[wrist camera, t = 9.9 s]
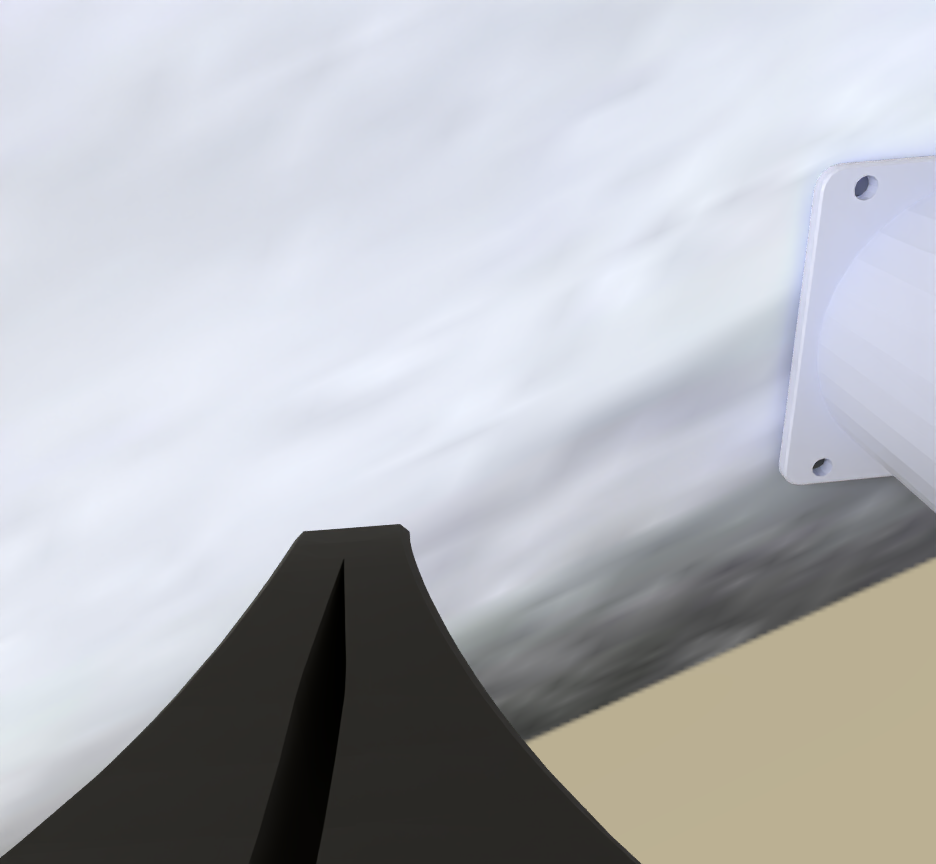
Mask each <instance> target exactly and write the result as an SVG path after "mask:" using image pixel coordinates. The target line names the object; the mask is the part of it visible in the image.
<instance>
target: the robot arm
mask: <svg viewBox="0 0 936 864" xmlns="http://www.w3.org/2000/svg"><path fill="white" fill-rule="evenodd" d="M865 176H867V177H868V181H869V185H868V187H867V190H866V191H865V192H864V193H863V194H862V195H860V196H857V197H856V196H855V191H854V189H855V186H856V183H857V182H858V181H859V180H860V179H861V178H862V177H865ZM823 458H825V461H824V463H823V464H822V465H821V466H820V467H818V468H815V469H812V468H813V466H814V464H815V463H816V462H817V461H818V460H820V459H823ZM779 471H780V472H781V474H782V475H783V477H784V478H785V479H786V480H787V481H788V482H790V483H792V484H794V485H805V484H815V483H825V482H836V481H846V480H856V479H866V478H876V477H886V476H895V477H896V478H897V479H898V480H899V481H900V482H901V483H902V484H904V485H905V486H906V487H907V488H908V489H909V490H910V491H911V492H913V493H914V494H915V495H916V496H917V497H918V498H919V499H920V500H922V501H923V502H924V503H925V504H926V505H927V506H928V507H929V508H931V509H932V510H933V511H934V512H935V513H936V156H925V157H913V158H901V159H889V160H876V161H864V162H852V163H840V164H836V165H833V166H830V167H829V168H827V169H826V170H825V171H823V172H822V173H821V175H820V176H819V178H818V179H817V181H816V184H815V187H814V193H813V201H812V209H811V217H810V224H809V232H808V240H807V248H806V256H805V264H804V271H803V279H802V287H801V295H800V303H799V311H798V318H797V326H796V334H795V342H794V350H793V358H792V365H791V373H790V381H789V389H788V397H787V404H786V412H785V420H784V428H783V436H782V444H781V451H780V459H779ZM0 864H641V863H640V862H639V861H638V860H637V859H636V858H635V857H633V856H632V855H631V854H630V853H629V852H628V851H627V850H626V849H625V848H624V847H623V846H622V845H620V843H618V842H617V841H616V840H615V839H614V838H613V837H612V836H611V835H610V834H609V833H608V832H607V831H606V830H605V829H604V828H603V827H602V826H601V825H600V824H599V822H597V821H596V819H595V818H594V817H593V816H592V815H591V814H590V813H589V812H588V811H587V810H586V809H585V808H584V807H583V806H582V805H581V804H580V803H579V802H578V801H577V800H576V798H575V797H574V796H573V795H572V794H571V793H570V792H569V791H568V790H567V789H566V788H565V787H564V786H563V785H562V784H561V783H560V782H559V781H558V780H557V779H556V778H555V777H554V775H552V773H551V772H550V771H549V770H548V769H547V768H546V767H545V765H544V764H543V763H542V762H541V761H540V759H539V758H538V757H537V756H536V755H535V753H534V752H533V751H532V750H531V749H530V748H529V746H528V745H527V744H526V743H525V742H524V740H523V739H522V738H521V737H520V736H519V734H518V733H517V732H516V730H515V729H514V728H513V727H512V725H511V724H510V723H509V721H508V720H507V719H506V718H505V716H504V715H503V714H502V712H501V711H500V710H499V708H498V707H497V706H496V704H495V703H494V702H493V700H492V699H491V697H490V696H489V695H488V693H487V692H486V690H485V689H484V687H483V686H482V685H481V683H480V682H479V680H478V679H477V677H476V676H475V674H474V673H473V671H472V669H471V668H470V666H469V665H468V663H467V662H466V660H465V658H464V657H463V655H462V654H461V652H460V651H459V649H458V647H457V646H456V644H455V642H454V640H453V639H452V637H451V635H450V634H449V632H448V630H447V628H446V626H445V624H444V622H443V621H442V619H441V617H440V615H439V613H438V611H437V609H436V607H435V605H434V603H433V602H432V600H431V598H430V595H429V593H428V591H427V589H426V587H425V585H424V582H423V580H422V577H421V575H420V572H419V570H418V567H417V564H416V561H415V559H414V555H413V552H412V548H411V543H410V533H409V531H408V530H407V529H406V528H404V527H403V526H402V525H400V524H395V525H382V526H369V527H356V528H343V529H330V530H317V531H304V532H303V533H302V534H301V535H300V536H299V537H298V538H297V539H296V540H295V541H294V543H293V544H292V546H291V547H290V549H289V550H288V552H287V553H286V555H285V556H284V558H283V559H282V561H281V562H280V564H279V565H278V567H277V568H276V570H275V571H274V573H273V574H272V576H271V577H270V578H269V580H268V581H267V583H266V584H265V585H264V587H263V588H262V590H261V591H260V592H259V594H258V595H257V597H256V598H255V599H254V601H253V602H252V603H251V605H250V606H249V607H248V609H247V610H246V611H245V612H244V614H243V615H242V616H241V618H240V619H239V620H238V622H237V623H236V624H235V626H234V627H233V628H232V629H231V631H230V632H229V633H228V635H227V636H226V637H225V639H224V640H223V641H222V642H221V644H220V645H219V646H218V647H217V649H216V650H215V651H214V652H213V653H212V654H211V656H210V657H209V658H208V659H207V660H206V661H205V663H204V664H203V665H202V666H201V667H200V668H199V670H198V671H197V672H196V673H195V674H194V675H193V677H192V678H191V679H190V680H189V681H188V682H187V684H186V685H185V686H184V687H183V688H182V689H181V691H180V692H179V693H178V694H177V695H176V696H175V697H174V698H173V700H172V701H171V702H170V703H169V704H168V705H167V706H166V707H165V708H164V709H163V710H162V711H161V712H160V714H159V715H158V716H157V717H156V718H155V719H154V720H153V721H152V722H151V723H150V724H149V725H148V726H147V727H146V728H145V729H144V730H143V731H142V732H141V733H140V734H139V735H138V736H137V737H136V738H135V739H134V740H133V741H132V742H131V743H130V744H129V745H128V746H127V747H126V748H125V749H124V750H123V751H122V752H121V753H120V754H119V755H118V756H117V757H116V758H115V759H114V760H113V761H112V762H111V763H110V764H109V765H108V766H107V767H106V768H105V769H104V770H103V771H102V772H100V773H99V774H98V775H97V776H96V777H95V778H94V779H93V780H92V781H90V782H89V783H88V784H87V785H86V786H85V787H83V788H82V789H81V790H80V791H79V792H78V793H76V794H75V795H74V796H73V797H72V798H71V799H69V800H68V801H67V802H66V803H65V804H64V805H62V806H61V807H60V808H59V809H58V810H57V811H55V812H54V813H53V814H52V815H51V816H50V817H48V818H47V819H46V820H45V821H44V822H43V823H41V824H40V825H39V826H38V827H37V828H36V829H34V830H33V831H32V832H31V833H30V834H29V835H27V836H26V837H25V838H24V839H23V840H22V841H20V842H19V843H18V844H17V845H16V846H14V847H13V848H12V849H11V850H9V851H8V852H7V853H6V854H4V855H3V856H2V857H1V858H0Z"/></svg>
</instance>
